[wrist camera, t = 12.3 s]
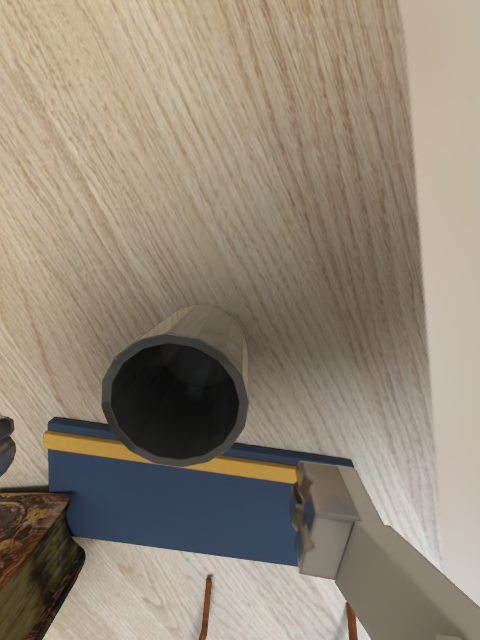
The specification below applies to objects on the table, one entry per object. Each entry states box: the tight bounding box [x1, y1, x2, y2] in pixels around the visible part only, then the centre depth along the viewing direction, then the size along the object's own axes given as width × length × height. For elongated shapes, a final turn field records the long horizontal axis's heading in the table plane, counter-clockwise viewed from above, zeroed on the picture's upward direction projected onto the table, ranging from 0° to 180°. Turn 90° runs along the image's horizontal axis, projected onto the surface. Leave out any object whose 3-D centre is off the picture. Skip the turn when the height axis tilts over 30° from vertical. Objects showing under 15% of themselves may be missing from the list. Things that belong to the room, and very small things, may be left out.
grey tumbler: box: [102, 304, 249, 467], centre depth 14 cm, size 6×6×7 cm
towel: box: [43, 417, 354, 566], centre depth 20 cm, size 22×10×1 cm, turn 81°
